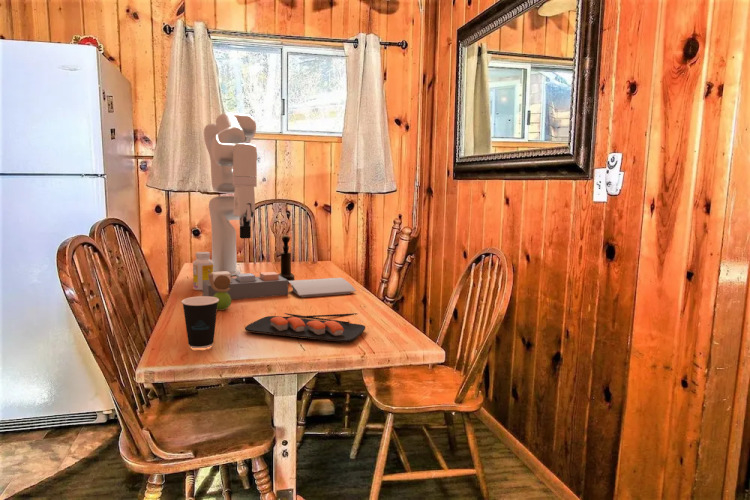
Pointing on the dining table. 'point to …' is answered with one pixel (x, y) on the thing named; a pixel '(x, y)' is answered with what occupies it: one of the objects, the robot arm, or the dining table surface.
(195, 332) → the dixie cup
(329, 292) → the book
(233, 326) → the dining table surface
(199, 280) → the supplement bottle
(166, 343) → the dining table surface
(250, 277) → the slate key
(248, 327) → the sushi plate
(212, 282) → the snail figurine
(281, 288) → the key panel
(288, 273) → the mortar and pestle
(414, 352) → the dining table surface
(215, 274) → the cream key
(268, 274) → the terracotta key
